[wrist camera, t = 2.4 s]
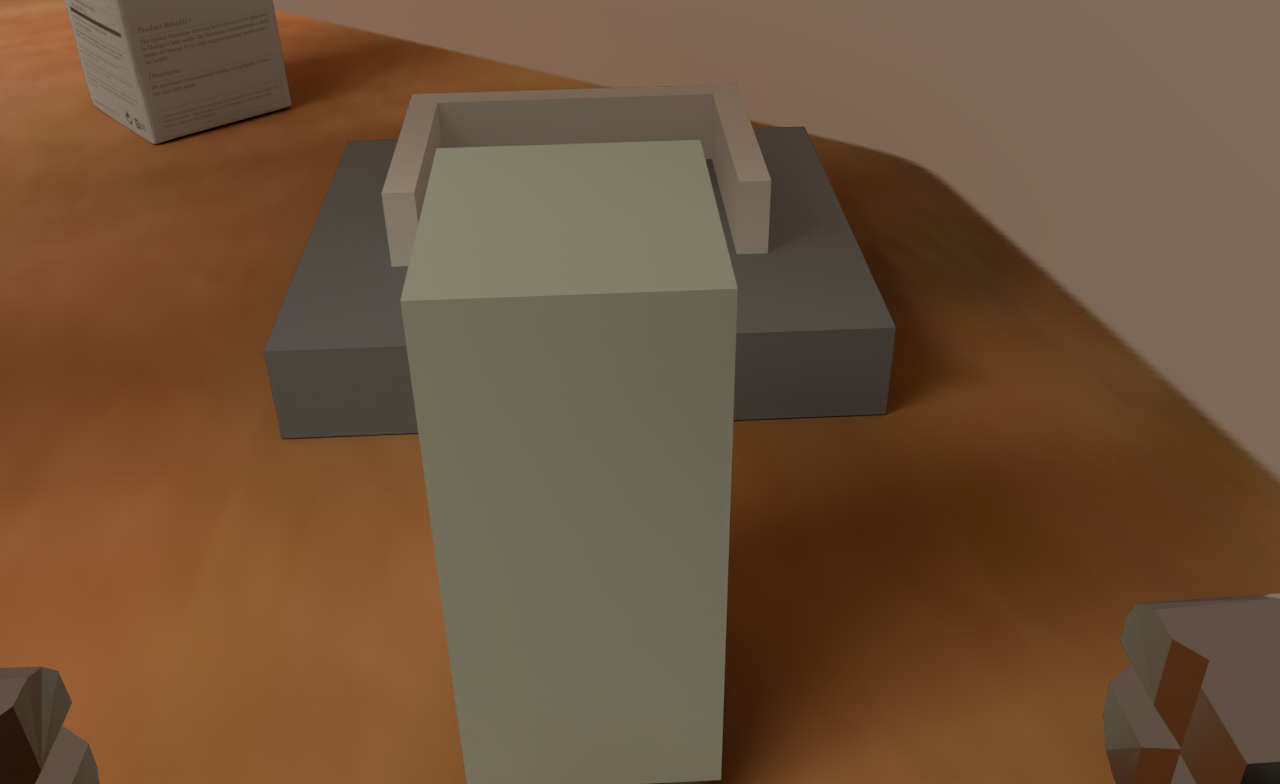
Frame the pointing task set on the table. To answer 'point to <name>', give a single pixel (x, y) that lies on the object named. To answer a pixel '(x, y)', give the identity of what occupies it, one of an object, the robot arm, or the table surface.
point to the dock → (714, 114)
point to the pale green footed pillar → (578, 455)
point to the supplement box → (180, 62)
